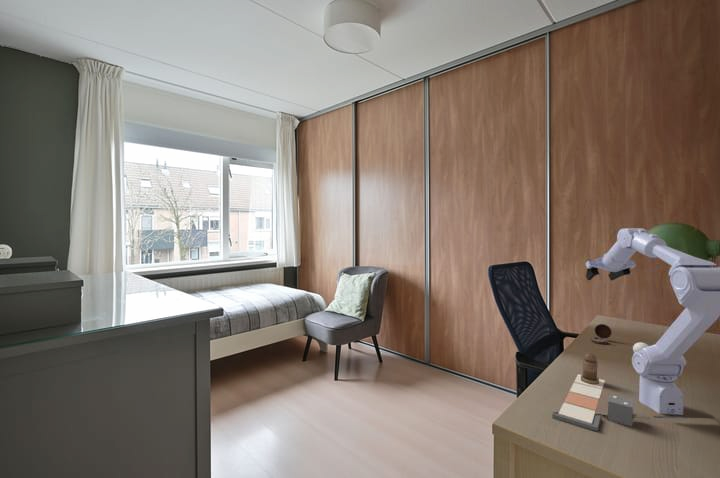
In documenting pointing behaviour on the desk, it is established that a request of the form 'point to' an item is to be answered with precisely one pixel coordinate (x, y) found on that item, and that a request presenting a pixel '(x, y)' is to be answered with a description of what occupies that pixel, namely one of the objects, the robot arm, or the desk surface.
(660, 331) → the desk surface
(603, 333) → the compass
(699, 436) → the desk surface
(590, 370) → the pawn
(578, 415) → the board
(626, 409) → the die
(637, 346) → the seamed sphere
